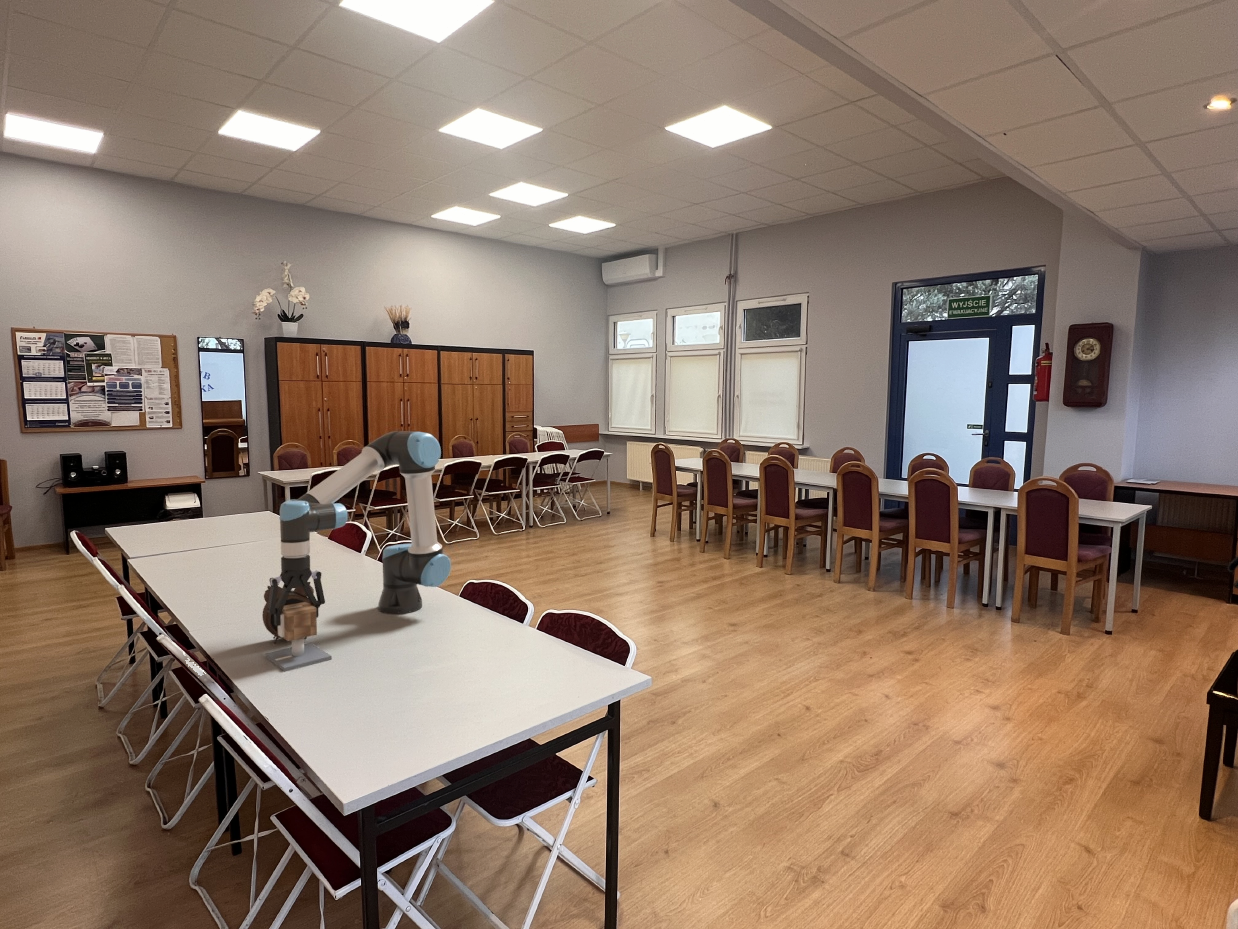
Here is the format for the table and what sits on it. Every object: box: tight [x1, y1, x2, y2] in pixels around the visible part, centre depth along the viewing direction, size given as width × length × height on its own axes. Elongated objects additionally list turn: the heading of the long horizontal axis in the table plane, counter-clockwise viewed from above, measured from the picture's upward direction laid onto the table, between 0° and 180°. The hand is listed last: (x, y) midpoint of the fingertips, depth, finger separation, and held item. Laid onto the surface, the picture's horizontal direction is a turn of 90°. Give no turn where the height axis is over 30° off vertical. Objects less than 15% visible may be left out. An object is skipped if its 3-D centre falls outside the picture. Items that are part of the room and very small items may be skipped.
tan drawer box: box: [277, 602, 318, 642], centre depth 197 cm, size 8×8×8 cm
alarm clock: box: [262, 581, 315, 644], centre depth 211 cm, size 14×7×20 cm, turn 126°
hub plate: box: [264, 638, 333, 672], centre depth 197 cm, size 13×15×6 cm
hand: (297, 632), depth 197 cm, fingers closed on tan drawer box, 8 cm apart
